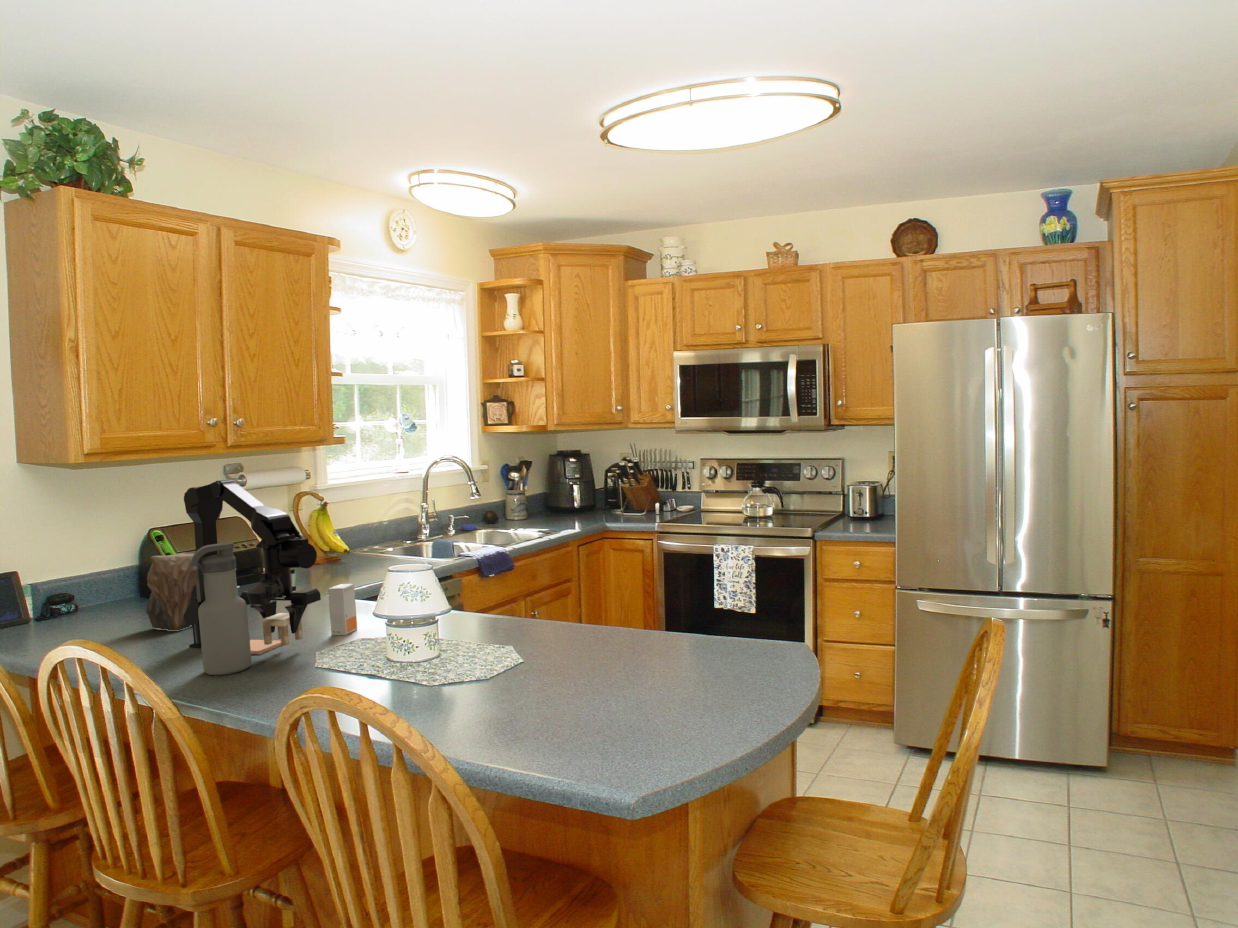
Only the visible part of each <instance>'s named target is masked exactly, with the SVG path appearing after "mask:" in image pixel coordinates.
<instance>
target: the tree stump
mask: <svg viewBox="0 0 1238 928" xmlns="http://www.w3.org/2000/svg"><path fill="white" fill-rule="evenodd" d="M194 554H195V552H185V551H184V552H179V553H176V554H169V555H151V556H150V558H149V560H150V562H151V564H150V565H151V566H150V567H149V570H148V572H147V575H146V576H147V577H146V583H147V585H146V586H147V587H148V589H149V590H150V592H151V593H150V594H149V598H148V600H147V601H148V602H147V606H146V609H145V613H146V615H147V618H148V620H149V622H150V624H151V627H152V628H153V627H154V628H161V629H168V630H180V629H183V628H186V627H189V626H190V625H192V624H186V623H185V620H184V617H183V615H184V613H185V612H186V610H187V608H188V607H189V605H190V603H191V592H192V590H193V588H194V586H195V584H196V581H195V571H194V570H193V569H192V563H191V562H192V557H193V555H194Z"/></svg>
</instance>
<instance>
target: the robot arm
mask: <svg viewBox="0 0 1238 928" xmlns="http://www.w3.org/2000/svg"><path fill="white" fill-rule="evenodd" d="M183 503H184V506H185V508H184V509H185V512H186V514H187V515H188V517H189V518H190V520H191V521H192V523H193V525H194V526H193V527H194V528H193V529H194V540H195V541H194V542H195V545H194V546H195V552H196V551H197V550H198V549H200V548H201V547H204V546H206V545H212V544H219V543H218V531H217V529H218V527H217V526H218V525H217V520H218V519H219V517H220V515H221V513H222V511H223V506H224V505H223V503H226V504H227V505H229V506H230V507H231V508H232V509H234V510H235V511H236V512H237V513H239V514H240V515H241V516H242V517H243V518H245V519H246V520H247V521H248V522H249V523H250V528H251V530H252V531H253V533H255V535H256V536H258V537H259V539H260V541H259V542H258V543H256V545H255V548H256V549H262V556H263V558H262V559H263V568H264V569H263V572H262V573H260V577H259V578H260V579H259V580H260V581H259V582H258V583H256V584H254V585H253V586H252V587H251V588H250V589H248V590H245V591H242V592H241V594H240V596H239V597H240V598H242V599H244V600H245V602H246V605H247V606H248V605H249V607H250V608H251V609H255V610H256V611H258V613H259V614H260V615H261V617H262V619H264V618H267V617H270V616H273V615H275V614H277V601H288V602H289V601H290V602H289V603H290V604H289V605H286V606H284V609H285V610H287V613H289V618H290V624H289V625H290V631H291V632H290V633H291V634H295V633H296V631H297V628H298V626H299V623H300V620H301V621H302V617H303V615H304V613H305V611H306V609H307V607H308V605H311V604H313V603H316V602H319V601H321V599H322V597H321V592H320V590H319V589H318V588H302V589H300V590H297V585H293V581H292V575H293V574H296V573H295V572H296V571H295V569H310V568H312V566H314V564H315V563H316V561H317V558H318V556H317V555H318V554H317V550H316V549H315V547H314V545H312V544H311V543H309V538H305V537H302V535H301V534H300V531H299V530H298V529H297V528H296V525H295V524H294V523H293V522H294V521H292V518H291V516H290V515H289V514H288V513H287V512H284V511H283V510H281V509H279V508H276V507H275V508H274V507H271V506H267V505H265V504H263V502H261V501H260V500H258V498H256V497H254V495H252V494H251V493H249V492H248V491H247V490H245V489H244V488H243V487H241V486H240V485H239V484H238V482H237V481H236V480H235V479H231V478H229V479H220V480H219V479H218V480H215V481H213V482H211V483H209V484H206V485H205V484H204V485H203V486H201V485H200V486H194V487H193V486H192V487H190V488H189V487H188V489H187V490H186V491H185V492H184V495H183ZM213 555H219V554H218V551H211V552H208V553H205V554H204V555H202V556H201V557H200V559H199V560H198V564H200V563H201V560H202V559H204V558H206V557H209V556H213ZM202 572H203V571H201V569H199V570H198V576H199V585H200V596H201V602H198V601H197V592H196V584H195V586H194V588H193V590H192V592H191V603H190V605H189V607H188V608H187V610H186V612H185V613H184V615H183V617H184V620H185V623H186V624H192V627H191V628H192V636H193V637H192V638H193V643H191V644H189V645H188V646H189V647H188V648H202V647H201V636H200V625H199V614H198V609H199V607H200V605H201V604H202V603H203V602H204V601H205V589H204V579H203V574H202ZM275 631H276V626H271V634H273V633H274V632H275Z"/></svg>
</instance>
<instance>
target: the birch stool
mask: <svg viewBox="0 0 1238 928" xmlns="http://www.w3.org/2000/svg"><path fill="white" fill-rule="evenodd" d="M261 622H262V632H263V640H264V645H269V644H272V640H273V639H272V638H273V636H272V633H271V626H275V627H277V637H278V639H277V640H280V641H281V646H287V645H290V638H289V637H290V636H289V627H288V626H289V625H290V618H289V612H279V613H276V614H275V615H273V616H270V617H267V618H264V619H263V618H262V619H261ZM294 638H295V640H299V641H300V640H303V626H302V619H301V620H300V623H299V626H298V628H297V631H296V633H294Z"/></svg>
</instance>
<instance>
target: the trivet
mask: <svg viewBox="0 0 1238 928" xmlns="http://www.w3.org/2000/svg"><path fill="white" fill-rule="evenodd" d="M280 646H282V645H281V640H280V639H277V640H275V639H274V640H273V639H272V644H269V645H264V639H250V649H251V655H261V654H263V653H266V652H268V651H271V650H273V648H274V649H276V648H278V647H280Z"/></svg>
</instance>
